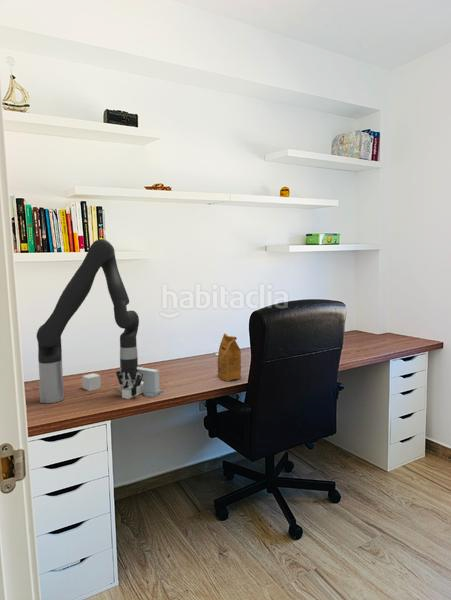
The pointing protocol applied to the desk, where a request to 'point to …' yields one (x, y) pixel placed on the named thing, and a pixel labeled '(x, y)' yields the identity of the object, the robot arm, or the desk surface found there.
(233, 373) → the coffee package
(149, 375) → the port plate
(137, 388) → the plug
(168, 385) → the desk surface
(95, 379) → the white cube
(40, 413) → the desk surface
